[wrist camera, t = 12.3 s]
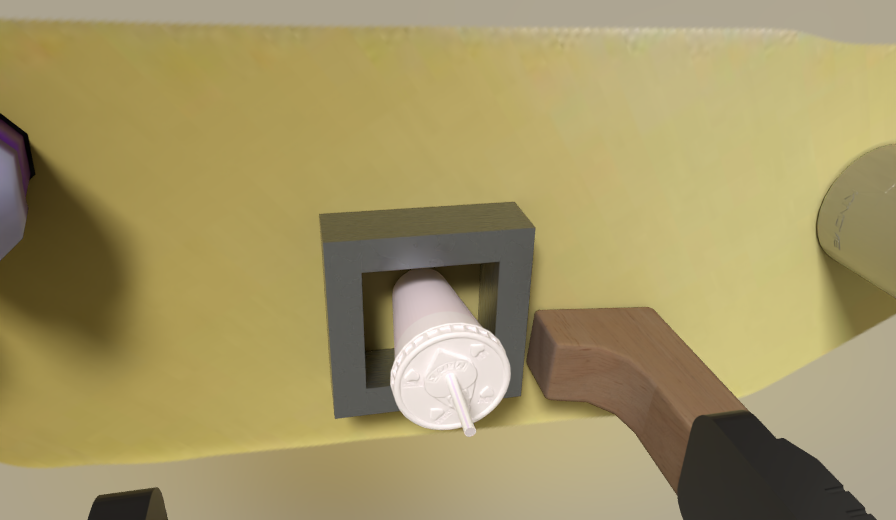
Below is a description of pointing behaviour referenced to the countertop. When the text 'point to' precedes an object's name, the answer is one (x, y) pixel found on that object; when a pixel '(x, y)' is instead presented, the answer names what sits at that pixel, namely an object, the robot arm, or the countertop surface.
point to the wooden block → (628, 375)
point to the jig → (420, 246)
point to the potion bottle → (13, 183)
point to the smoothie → (443, 356)
